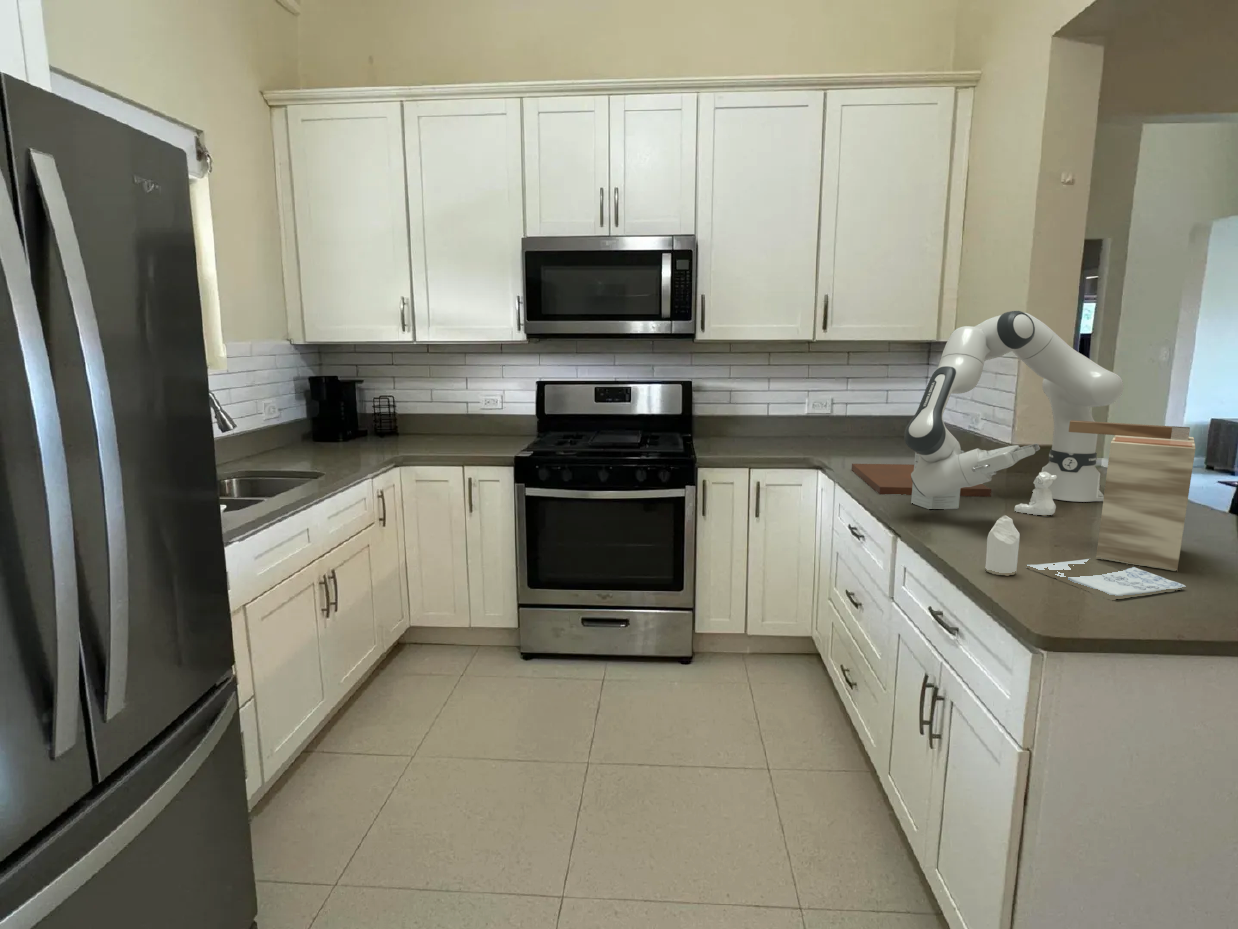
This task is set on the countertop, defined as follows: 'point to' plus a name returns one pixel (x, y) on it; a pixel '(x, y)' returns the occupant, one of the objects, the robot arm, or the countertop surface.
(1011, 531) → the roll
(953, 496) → the supplement box
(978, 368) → the robot arm
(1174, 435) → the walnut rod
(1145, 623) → the countertop surface
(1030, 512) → the white creature statuette
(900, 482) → the reddish brown board
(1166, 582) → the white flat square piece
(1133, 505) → the birch shelf
